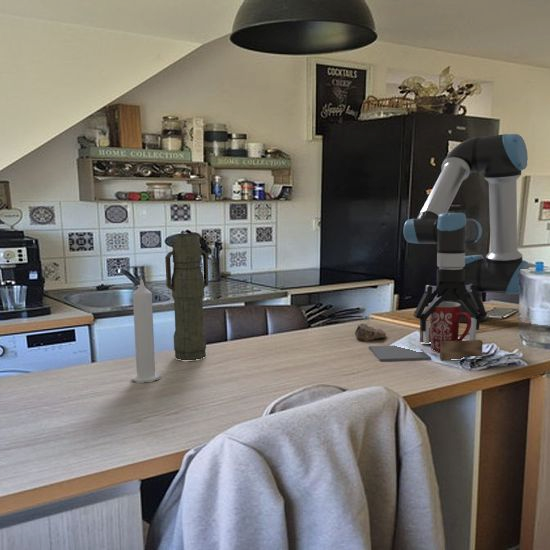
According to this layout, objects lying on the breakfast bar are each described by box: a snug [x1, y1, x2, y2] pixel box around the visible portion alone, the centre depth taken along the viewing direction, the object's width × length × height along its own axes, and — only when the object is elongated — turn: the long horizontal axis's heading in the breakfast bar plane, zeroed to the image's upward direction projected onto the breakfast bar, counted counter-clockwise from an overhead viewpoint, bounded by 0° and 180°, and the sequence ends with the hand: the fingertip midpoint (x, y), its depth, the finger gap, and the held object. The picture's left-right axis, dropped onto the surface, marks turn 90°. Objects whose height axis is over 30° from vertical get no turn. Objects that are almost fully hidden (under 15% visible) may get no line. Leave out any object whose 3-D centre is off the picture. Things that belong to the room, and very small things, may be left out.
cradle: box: [419, 326, 484, 362], centre depth 158 cm, size 11×19×5 cm, turn 3°
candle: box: [131, 279, 162, 384], centre depth 136 cm, size 7×7×25 cm
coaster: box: [368, 345, 432, 362], centre depth 157 cm, size 14×14×1 cm
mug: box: [427, 301, 471, 353], centre depth 158 cm, size 13×9×14 cm
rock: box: [354, 323, 387, 342], centre depth 176 cm, size 9×6×10 cm
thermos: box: [165, 233, 209, 360], centre depth 155 cm, size 9×12×35 cm
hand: (449, 341), depth 158 cm, fingers open, 13 cm apart
